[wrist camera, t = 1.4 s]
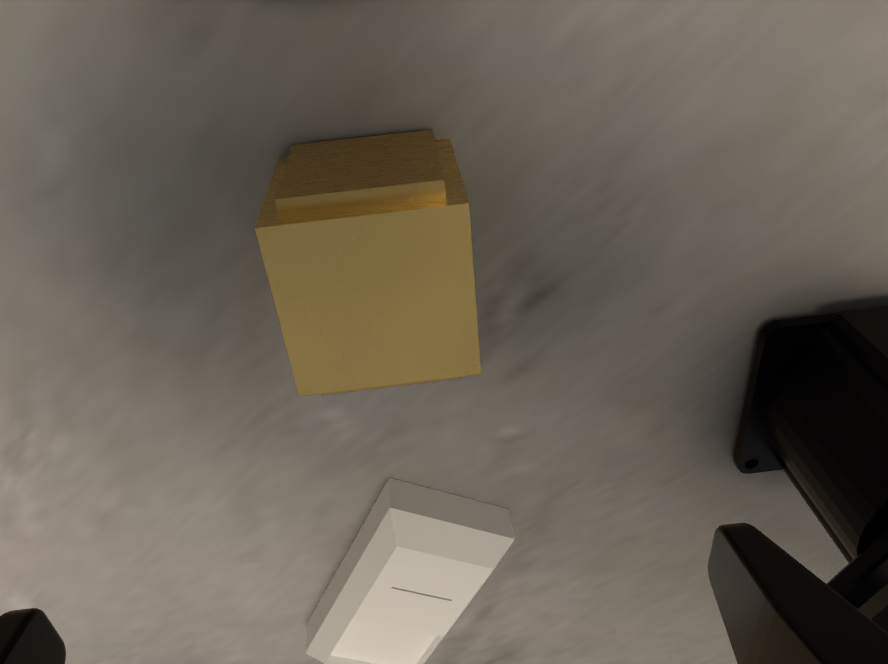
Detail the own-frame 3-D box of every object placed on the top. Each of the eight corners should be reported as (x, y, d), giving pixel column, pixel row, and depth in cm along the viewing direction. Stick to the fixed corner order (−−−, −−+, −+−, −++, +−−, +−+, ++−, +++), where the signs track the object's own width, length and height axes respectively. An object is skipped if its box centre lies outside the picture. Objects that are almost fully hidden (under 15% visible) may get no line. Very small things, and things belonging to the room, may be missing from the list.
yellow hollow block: (462, 296, 21) (482, 386, 17) (315, 313, 21) (302, 408, 17) (447, 122, 18) (467, 185, 14) (276, 141, 18) (249, 210, 14)
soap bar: (507, 501, 26) (519, 558, 24) (414, 634, 30) (417, 692, 28) (389, 469, 25) (390, 526, 23) (309, 613, 29) (303, 672, 27)
